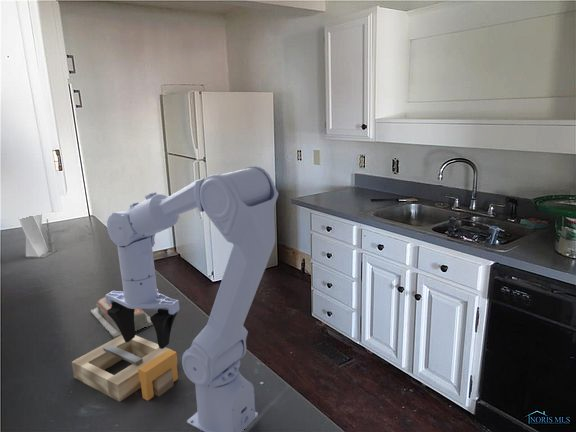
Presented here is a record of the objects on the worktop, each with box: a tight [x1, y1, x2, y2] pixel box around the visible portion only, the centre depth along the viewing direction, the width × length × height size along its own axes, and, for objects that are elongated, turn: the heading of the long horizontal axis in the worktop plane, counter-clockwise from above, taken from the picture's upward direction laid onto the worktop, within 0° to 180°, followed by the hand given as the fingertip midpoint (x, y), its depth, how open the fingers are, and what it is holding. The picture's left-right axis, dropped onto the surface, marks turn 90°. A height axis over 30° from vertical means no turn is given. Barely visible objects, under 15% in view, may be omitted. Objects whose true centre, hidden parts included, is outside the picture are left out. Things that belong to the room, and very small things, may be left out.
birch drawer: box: [71, 334, 172, 403], centre depth 86 cm, size 14×13×5 cm
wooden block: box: [138, 348, 179, 402], centre depth 81 cm, size 2×7×6 cm, turn 148°
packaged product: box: [90, 296, 153, 339], centre depth 109 cm, size 18×5×10 cm
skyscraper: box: [18, 213, 57, 259], centre depth 153 cm, size 8×8×28 cm
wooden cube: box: [152, 369, 174, 397], centre depth 81 cm, size 3×4×4 cm
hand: (146, 342), depth 80 cm, fingers open, 7 cm apart
